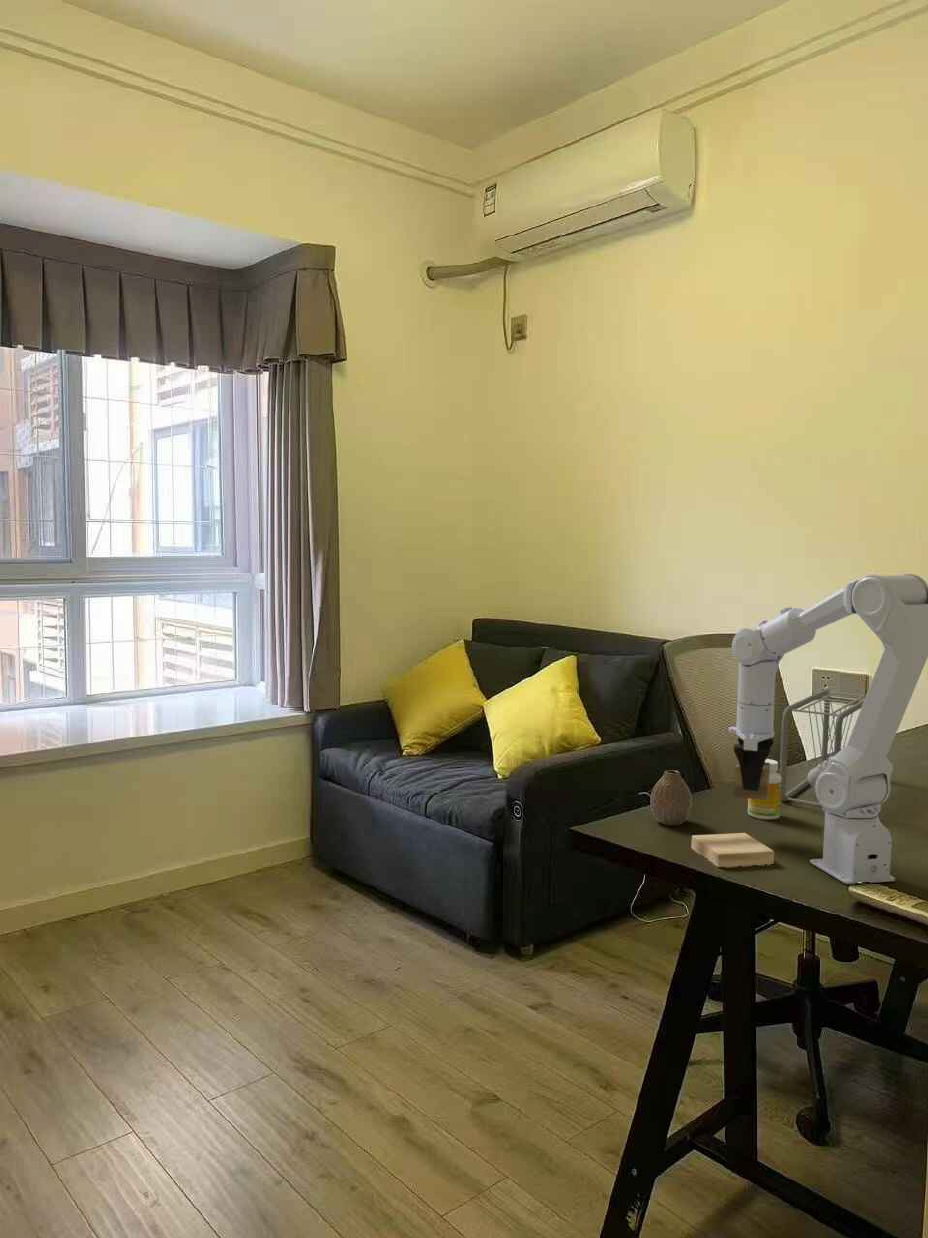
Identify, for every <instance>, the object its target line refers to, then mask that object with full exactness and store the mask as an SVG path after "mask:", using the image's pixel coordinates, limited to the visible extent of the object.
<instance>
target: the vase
mask: <svg viewBox="0 0 928 1238" xmlns="http://www.w3.org/2000/svg"><path fill="white" fill-rule="evenodd" d="M690 790H691V789H690V788H689V786H688V785H687V784H686V782H685V781H684V779H683V778H682V776H681V773H680V772H679V771H678V770H673V769H668V770H665V771H664V773H663V775H662V776H661V777H660V778H659V780H658V781H657V782H655V784H654V786H653V788H652V791H651V794H650V802H649V803H650V810H651V813H652V816H653V817H654V818H655V819H656V821H657V822H658V823H660V824H662V825H665V826H680V825H682V824H684V823H685V822H686V820H687V819H689V816H690V814H691V811H692V805H693V800H692V799H693V798H692V792H691V791H690Z"/></svg>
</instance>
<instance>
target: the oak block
mask: <svg viewBox="0 0 928 1238" xmlns="http://www.w3.org/2000/svg"><path fill="white" fill-rule="evenodd" d="M691 850H693V851H694V852H696V853H697V855H700V856H701V855H702V856H704V857H705V858H707V859H708V860H709V861H710V862H712V863H713V864H714V865H713V864H712V863H711V864H712V865H713V866H715V865H716V866H717V867H725V868H736V867H737V868H739V867H738V866H742V867H753V866H752V865H758V866H771V865H770V864H775V863H774V862H775V850H773V849H771V848H769V847H768V846H766V845H765V844H763V843H762V842H760V841H759V840H757V839H755V838H753V836H750V835H749V834H748V833H747V832H737V833H736V832H735V833H714V834H697V835H695V834H694V835H691ZM702 856H701V857H702ZM704 857H703V858H704ZM705 858H704V859H705ZM708 860H707V861H708ZM709 861H708V862H709ZM710 862H709V863H710ZM765 864H767V865H765ZM749 865H750V866H749ZM716 866H715V867H716ZM717 867H716V868H717Z"/></svg>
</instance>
